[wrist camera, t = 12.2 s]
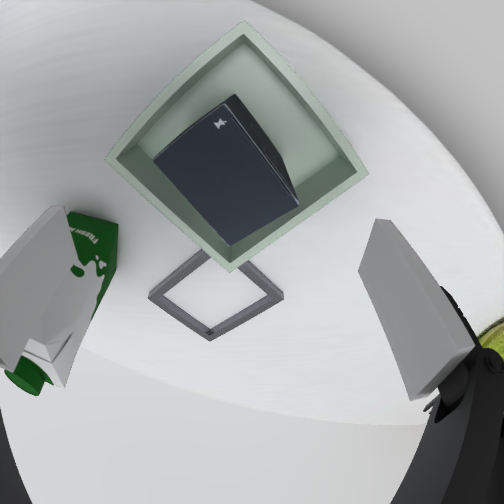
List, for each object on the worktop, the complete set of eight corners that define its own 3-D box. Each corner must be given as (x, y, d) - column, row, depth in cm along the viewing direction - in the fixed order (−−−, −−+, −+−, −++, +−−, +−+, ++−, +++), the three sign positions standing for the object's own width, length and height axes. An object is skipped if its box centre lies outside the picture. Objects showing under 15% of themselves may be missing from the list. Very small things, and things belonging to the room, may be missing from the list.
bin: (128, 143, 25) (103, 159, 20) (245, 32, 19) (244, 20, 14) (232, 241, 32) (229, 273, 27) (348, 155, 26) (369, 173, 21)
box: (185, 128, 24) (148, 159, 15) (235, 92, 22) (225, 99, 13) (235, 190, 27) (228, 250, 19) (284, 159, 26) (303, 206, 17)
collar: (149, 292, 36) (147, 298, 35) (220, 234, 31) (219, 240, 30) (210, 335, 41) (209, 341, 40) (283, 292, 36) (283, 299, 35)
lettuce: (508, 287, 43) (506, 312, 51) (445, 372, 46) (452, 383, 54) (550, 319, 30) (539, 340, 38) (483, 413, 34) (482, 416, 41)
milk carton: (68, 259, 33) (-3, 376, 16) (65, 201, 28) (-39, 320, 12) (122, 276, 35) (65, 412, 18) (126, 218, 30) (38, 366, 13)
